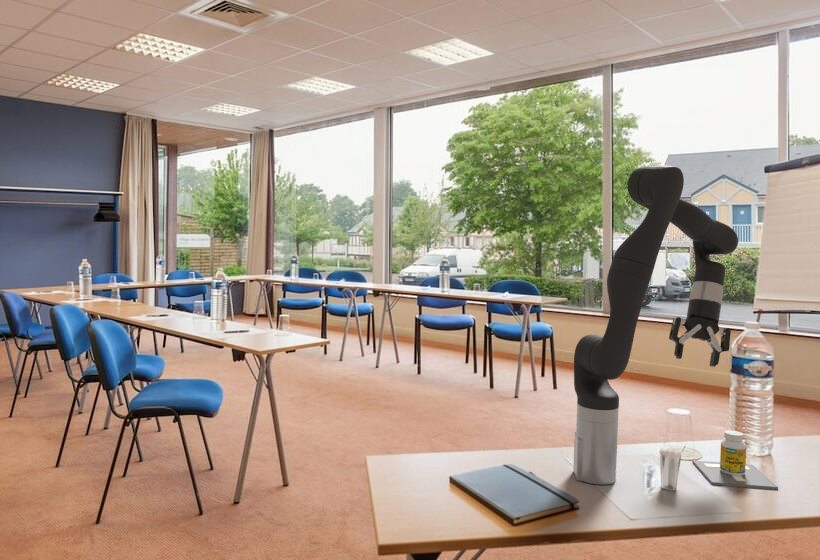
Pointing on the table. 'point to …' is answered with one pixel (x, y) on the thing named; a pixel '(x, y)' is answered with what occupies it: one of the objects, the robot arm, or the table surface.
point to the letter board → (749, 479)
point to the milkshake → (669, 467)
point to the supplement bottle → (733, 454)
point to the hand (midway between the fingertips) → (695, 362)
